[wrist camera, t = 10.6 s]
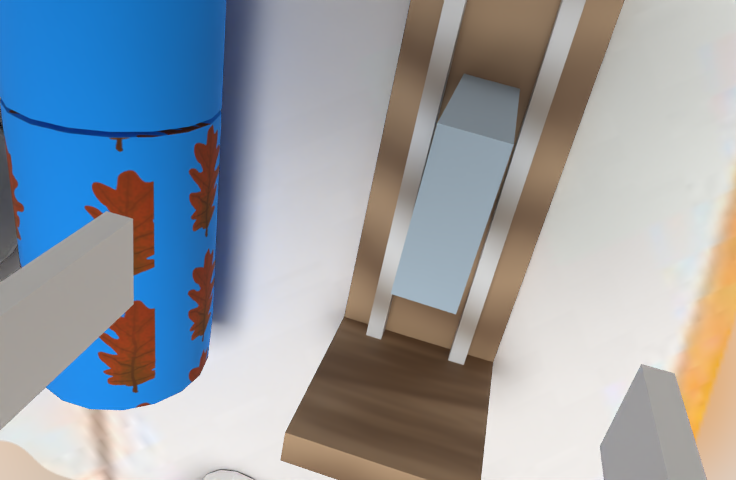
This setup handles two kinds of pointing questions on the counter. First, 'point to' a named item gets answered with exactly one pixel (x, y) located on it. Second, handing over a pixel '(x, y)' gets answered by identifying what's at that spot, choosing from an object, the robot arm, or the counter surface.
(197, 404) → the counter surface
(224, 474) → the white cup
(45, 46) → the thermos
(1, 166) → the apothecary jar
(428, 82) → the track board
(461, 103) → the grey rectangular block
